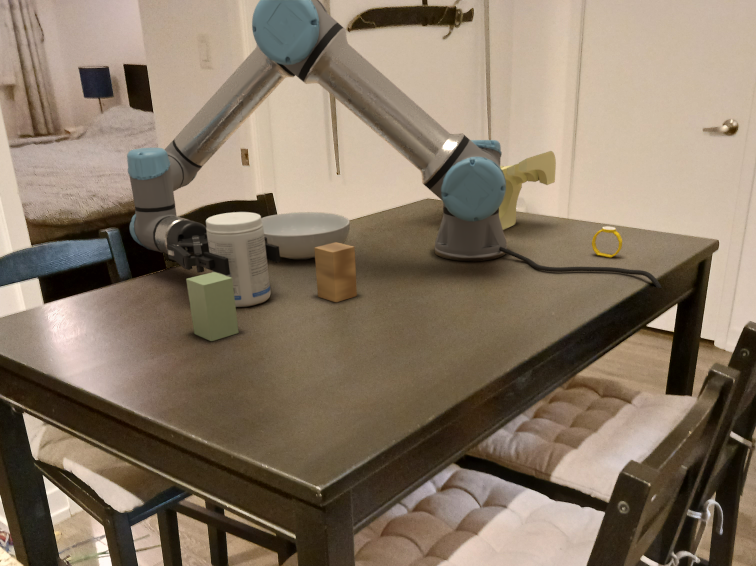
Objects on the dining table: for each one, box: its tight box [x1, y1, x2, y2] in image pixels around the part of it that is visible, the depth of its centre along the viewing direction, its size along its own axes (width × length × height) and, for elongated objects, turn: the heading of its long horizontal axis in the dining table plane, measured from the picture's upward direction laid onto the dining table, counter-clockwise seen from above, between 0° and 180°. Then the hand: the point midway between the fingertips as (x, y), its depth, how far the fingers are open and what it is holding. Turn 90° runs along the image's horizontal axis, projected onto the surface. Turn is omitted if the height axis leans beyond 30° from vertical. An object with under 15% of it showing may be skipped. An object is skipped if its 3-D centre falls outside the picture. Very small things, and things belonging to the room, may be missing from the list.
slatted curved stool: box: [499, 150, 557, 231], centre depth 181 cm, size 30×16×18 cm, turn 57°
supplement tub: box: [205, 211, 272, 308], centre depth 132 cm, size 10×10×15 cm
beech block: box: [314, 242, 358, 303], centre depth 134 cm, size 5×5×9 cm
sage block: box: [185, 272, 239, 342], centre depth 118 cm, size 5×5×9 cm
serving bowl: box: [261, 211, 351, 260], centre depth 162 cm, size 21×21×7 cm
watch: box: [591, 225, 623, 259], centre depth 156 cm, size 6×3×6 cm, turn 59°
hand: (253, 260), depth 129 cm, fingers closed on supplement tub, 10 cm apart
